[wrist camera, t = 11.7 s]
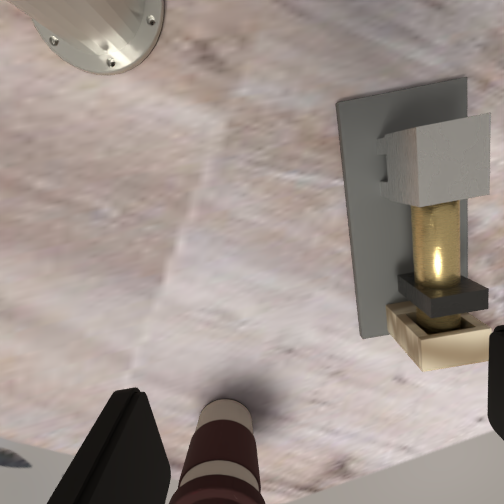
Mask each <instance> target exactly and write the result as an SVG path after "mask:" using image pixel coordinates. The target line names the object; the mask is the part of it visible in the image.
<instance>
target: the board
mask: <svg viewBox="0 0 504 504" xmlns="http://www.w3.org/2000/svg"><path fill="white" fill-rule="evenodd" d="M336 112H337V121H338V131H339V140H340V150H341V159H342V169H343V178H344V188H345V197H346V207H347V216H348V226H349V236H350V245H351V255H352V264H353V274H354V283H355V293H356V302H357V312H358V321H359V331H360V336H361V337H362V339H366V338H372V337H378V336H384V335H389V334H390V333H389V332H388V329H387V316H386V305H388V304H394V303H400V302H406V301H409V300H408V299H407V298H406V297H404V296H403V295H402V294H401V293H400V292H398V279H397V275H400V274H406V273H411V272H414V261H413V241H412V222H411V205H407V204H403V203H399V202H394V201H390V200H389V198H387V197H382V196H381V192H380V181H385V180H388V176H387V162H386V154H382V155H378V153H377V139H380V138H384V137H385V135H386V134H390V133H394V132H398V131H402V130H406V129H410V128H415V127H419V126H425V125H430V124H435V123H440V122H445V121H450V120H456V119H461V118H466V117H467V77H464V78H459V79H454V80H449V81H444V82H439V83H434V84H429V85H424V86H419V87H414V88H408V89H403V90H398V91H393V92H388V93H383V94H378V95H373V96H368V97H363V98H358V99H353V100H348V101H343V102H338V103H337V104H336ZM460 275H462V276H464V277H466V278H468V216H467V199H462V200H460ZM467 313H468V312H467Z"/></svg>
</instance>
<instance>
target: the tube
mask: <svg viewBox="0 0 504 504" xmlns="http://www.w3.org/2000/svg"><path fill="white" fill-rule="evenodd" d="M411 222H412V241H413V261H414V272H411V273H406V274H400V275H397V279H398V292H400V293H401V294H402V295H403V296H404V297H406V298H407V299H408V300H409V301H411V302H412V303H413V304H414V305H415V306H416V321H417V325H418V326H419V327H420V328H421V329H422V330H423V331H424V332H425V333H426V334H427V335H432V334H438V333H444V332H450V331H456V330H461V313H467V312H472V311H478V310H484V309H488V290H489V289H488V288H486V287H484V286H482V285H480V284H478V283H476V282H474V281H472V280H470V279H468V278H466V277H464V276H462V275H460V200H456V201H451V202H446V203H440V204H435V205H429V206H424V207H416V206H412V205H411Z"/></svg>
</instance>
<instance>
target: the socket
mask: <svg viewBox="0 0 504 504" xmlns="http://www.w3.org/2000/svg"><path fill="white" fill-rule="evenodd" d="M386 316H387V329H388V332H389V333H390V335H391V336H392V337H393V338H394V339H395V340H396V342H397V343H398V344H399V345H400V346H401V347H402V349H403V350H404V351H405V352H406V353H407V354H408V356H409V357H410V358H411V359H412V360H413V361H414V363H415V364H416V365H417V366H418V367H419V368H420V370H421V371H422V372H425V371H431V370H437V369H443V368H449V367H455V366H461V365H467V364H473V363H479V362H485V361H489V336H490V334H491V328H490V327H489V326H487V325H486V324H484V323H483V322H481V321H480V320H478V319H477V318H475V317H474V316H472V315H470V314H469V313H461V330H456V331H450V332H444V333H438V334H432V335H427V334H426V333H425V332H424V331H423V330H422V329H421V328H420V327H419V326H418V325H417V321H416V306H415V305H414V304H413V303H412V302H411V301H406V302H400V303H394V304H388V305H386Z"/></svg>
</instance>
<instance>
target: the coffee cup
mask: <svg viewBox="0 0 504 504" xmlns="http://www.w3.org/2000/svg"><path fill="white" fill-rule="evenodd" d="M260 491H261V485H260V476H259V466H258V457H257V448H256V442H255V438H254V436H253V426H252V418H251V415H250V413H249V411H248V410H247V408H246V407H245V406H243V405H242V404H241V403H239V402H237V401H234V400H229V399H222V400H217V401H214V402H212V403H210V404H208V405H207V406H206V407H205V408H204V409H203V410H202V412H201V414H200V416H199V420H198V424H197V427H196V431H195V433H194V435H193V437H192V439H191V442H190V445H189V449H188V452H187V456H186V459H185V463H184V466H183V470H182V473H181V476H180V480H179V485H178V489H177V491H176V492H175V493H174V494H173V496H172V498H171V500H170V502H169V504H265V501H264V499H263V497H262V495H261V494H260Z"/></svg>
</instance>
